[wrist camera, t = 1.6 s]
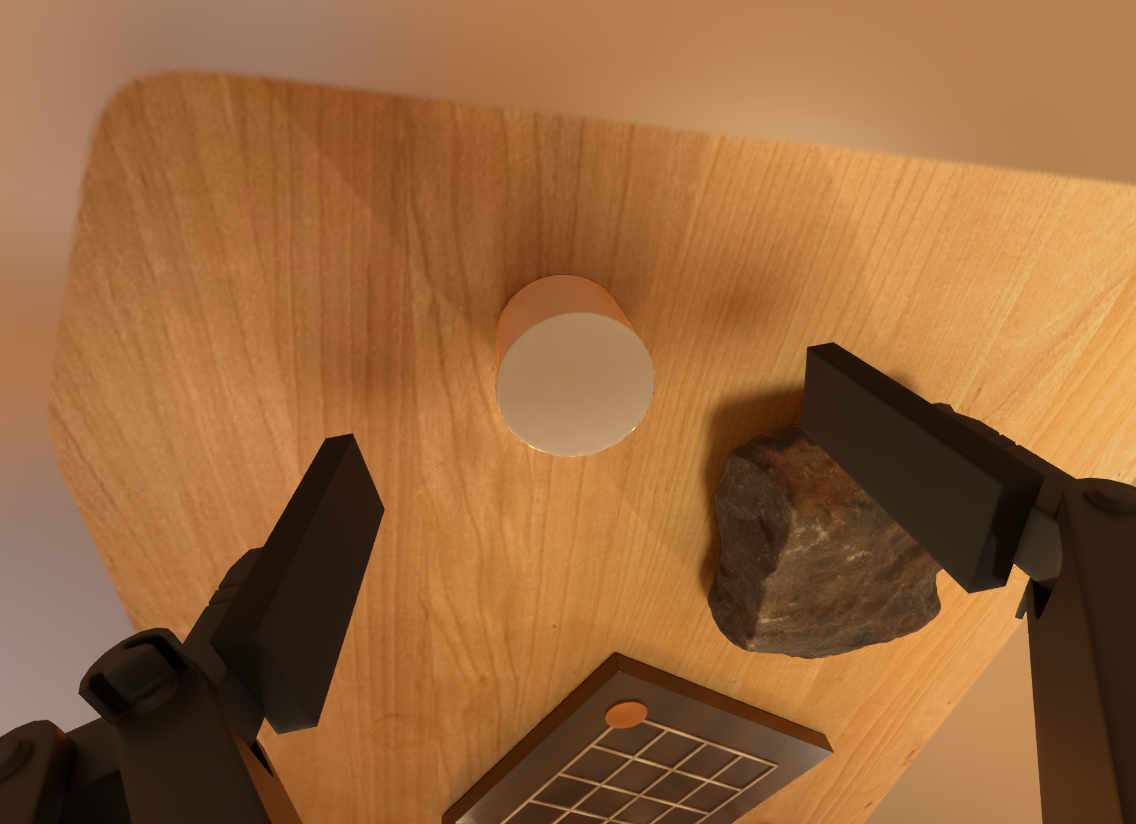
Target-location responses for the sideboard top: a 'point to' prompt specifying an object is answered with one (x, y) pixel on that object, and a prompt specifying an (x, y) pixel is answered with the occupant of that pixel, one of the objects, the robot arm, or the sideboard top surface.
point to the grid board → (642, 757)
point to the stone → (812, 555)
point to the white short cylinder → (570, 368)
